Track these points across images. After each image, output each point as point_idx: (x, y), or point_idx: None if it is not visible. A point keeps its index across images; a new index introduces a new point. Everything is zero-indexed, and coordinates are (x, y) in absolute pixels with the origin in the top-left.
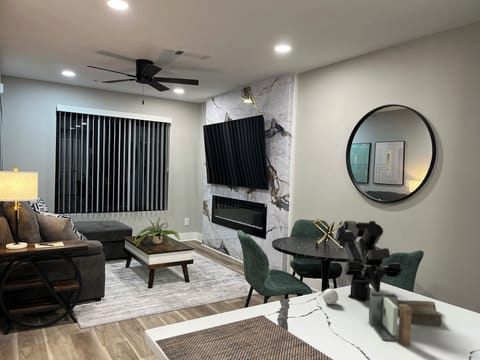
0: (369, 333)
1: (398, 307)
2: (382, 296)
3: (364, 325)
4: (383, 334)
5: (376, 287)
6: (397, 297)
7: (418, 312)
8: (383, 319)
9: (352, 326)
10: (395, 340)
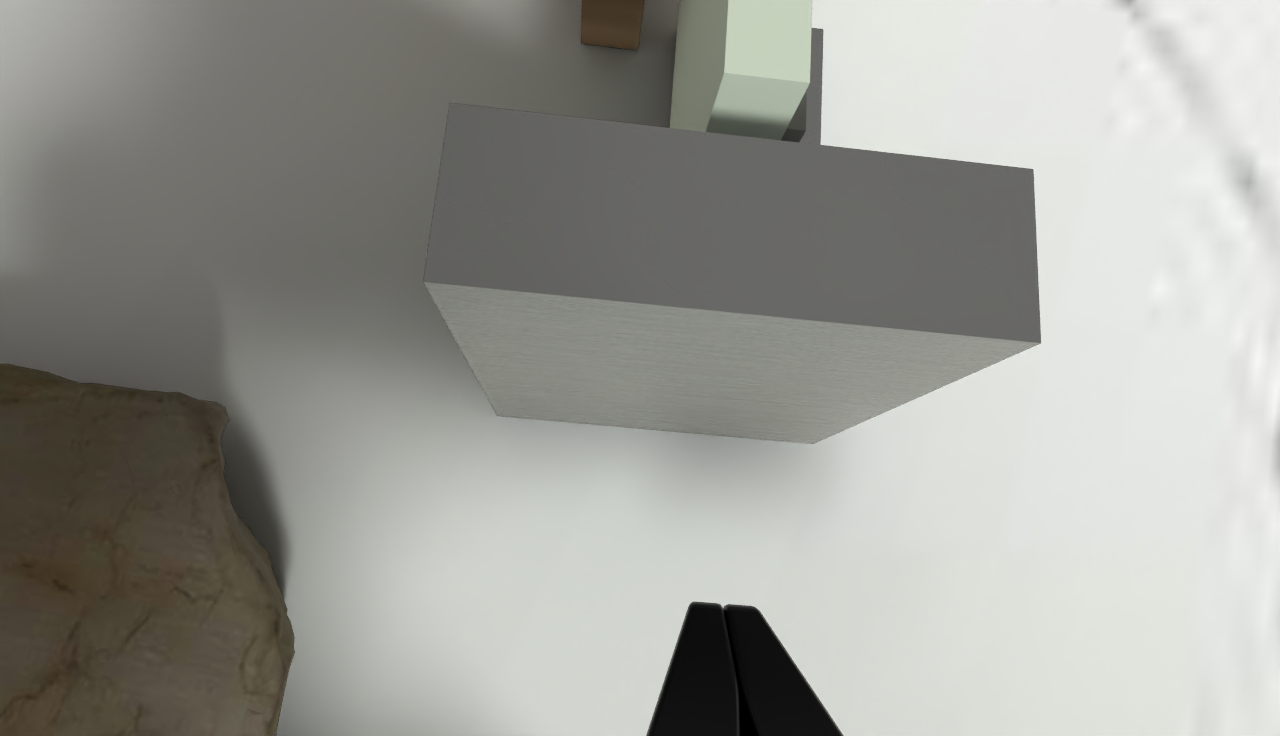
0: None
1: (206, 713)
2: (812, 145)
3: None
4: None
5: (777, 669)
6: (456, 110)
7: (2, 423)
8: None
9: (1040, 351)
10: None
